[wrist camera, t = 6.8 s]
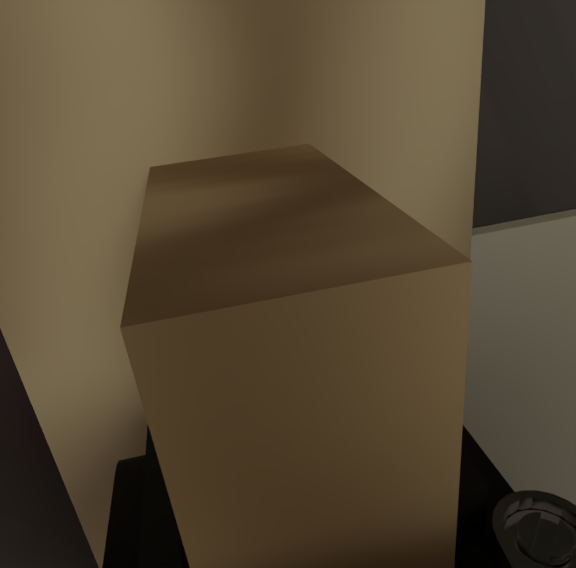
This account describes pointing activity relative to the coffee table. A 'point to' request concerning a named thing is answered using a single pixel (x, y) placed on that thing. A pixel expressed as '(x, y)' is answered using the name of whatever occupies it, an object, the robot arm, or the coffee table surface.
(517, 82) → the coffee table surface
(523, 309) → the mat
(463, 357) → the grout float
